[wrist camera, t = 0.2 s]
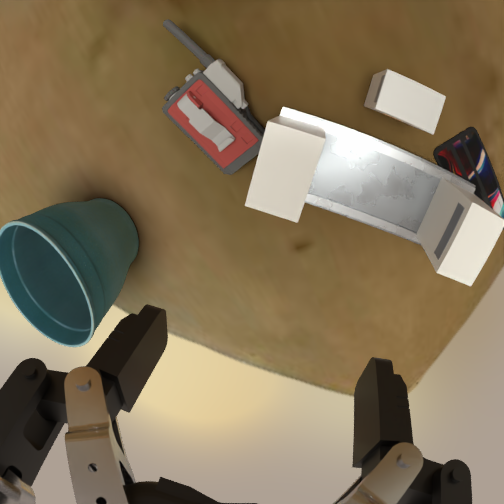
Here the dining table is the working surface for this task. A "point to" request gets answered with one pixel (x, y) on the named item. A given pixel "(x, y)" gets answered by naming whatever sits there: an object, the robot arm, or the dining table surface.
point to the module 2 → (458, 232)
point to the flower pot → (67, 266)
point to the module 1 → (285, 167)
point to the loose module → (405, 100)
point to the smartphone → (472, 166)
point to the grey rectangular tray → (373, 179)
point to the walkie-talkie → (214, 110)
